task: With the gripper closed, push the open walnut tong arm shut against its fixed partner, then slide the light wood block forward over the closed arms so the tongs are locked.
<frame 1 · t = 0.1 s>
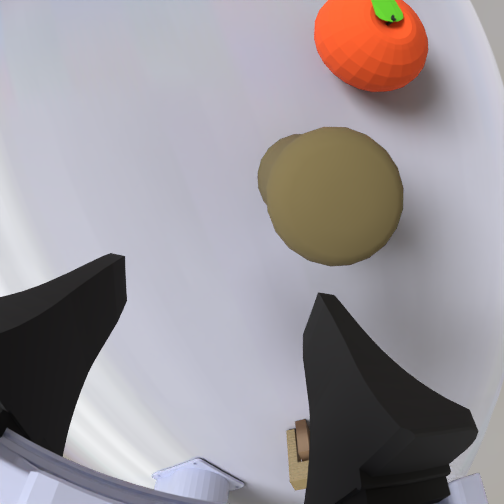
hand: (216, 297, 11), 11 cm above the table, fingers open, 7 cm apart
light wood block: (314, 454, 24), point 3 cm above the table, slide at 0.0 cm
cork: (302, 178, 20), on the table
clementine: (352, 49, 17), on the table
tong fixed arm: (313, 440, 28), on the table
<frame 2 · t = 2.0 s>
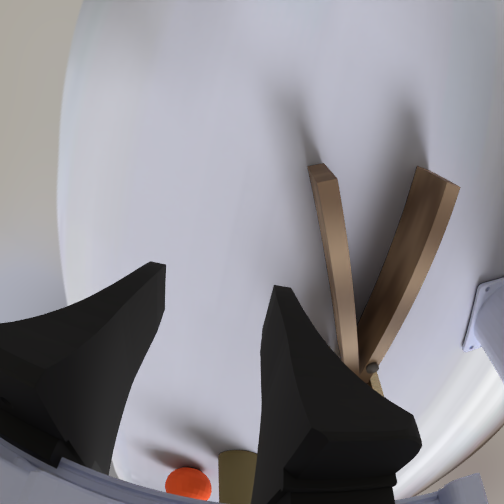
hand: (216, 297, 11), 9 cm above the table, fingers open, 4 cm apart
light wood block: (348, 384, 22), point 3 cm above the table, slide at 0.0 cm
cork: (240, 457, 35), on the table
clementine: (191, 469, 39), on the table
tong arm: (339, 282, 19), point 2 cm above the table, hinge at 25.0°
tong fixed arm: (352, 335, 24), on the table
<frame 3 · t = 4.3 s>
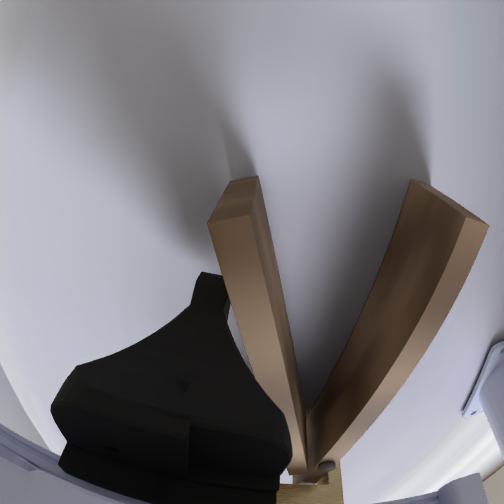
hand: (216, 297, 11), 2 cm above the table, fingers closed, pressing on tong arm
light wood block: (298, 473, 15), point 3 cm above the table, slide at 0.0 cm
tong arm: (279, 366, 12), point 2 cm above the table, hinge at 22.4°, touching gripper
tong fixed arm: (310, 411, 17), on the table
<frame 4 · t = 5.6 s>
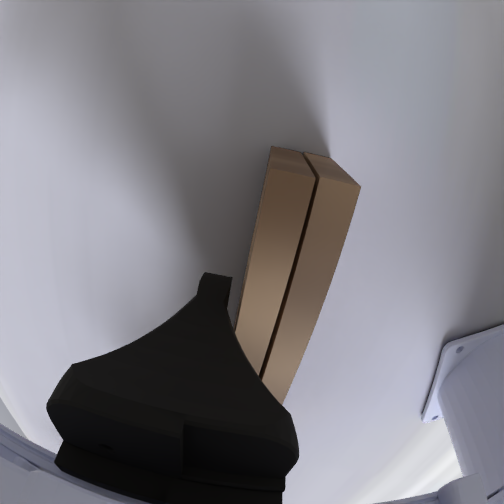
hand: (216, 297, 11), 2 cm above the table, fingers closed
tong arm: (244, 346, 11), point 2 cm above the table, hinge at -0.6°, touching gripper
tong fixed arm: (240, 403, 17), on the table
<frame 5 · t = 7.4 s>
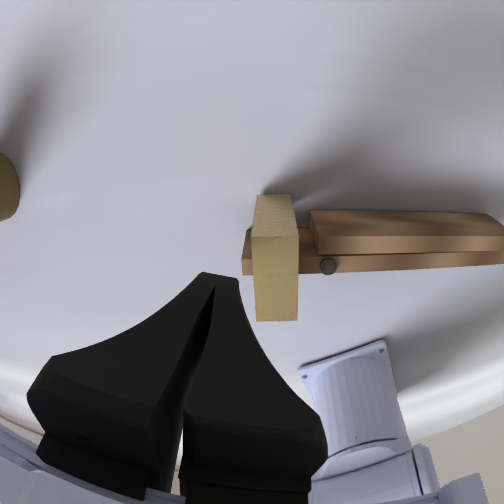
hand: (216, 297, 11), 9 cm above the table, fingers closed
light wood block: (275, 250, 17), point 3 cm above the table, slide at 0.0 cm
cork: (0, 186, 20), on the table
tong arm: (423, 230, 17), point 2 cm above the table, hinge at -0.7°
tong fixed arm: (309, 228, 20), on the table
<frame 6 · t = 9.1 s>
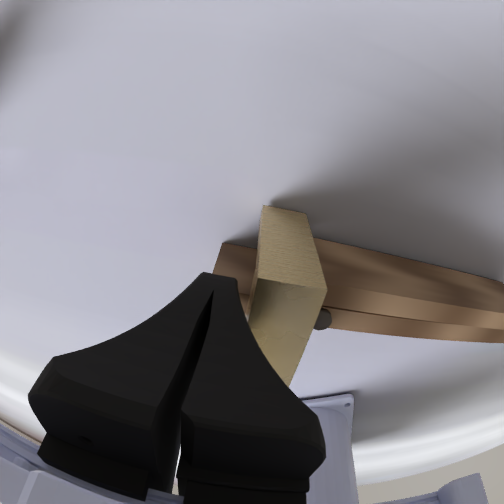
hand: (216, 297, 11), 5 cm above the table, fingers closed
light wood block: (274, 288, 12), point 3 cm above the table, slide at 0.8 cm, touching gripper
tong arm: (439, 291, 13), point 2 cm above the table, hinge at -0.7°
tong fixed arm: (301, 257, 16), on the table
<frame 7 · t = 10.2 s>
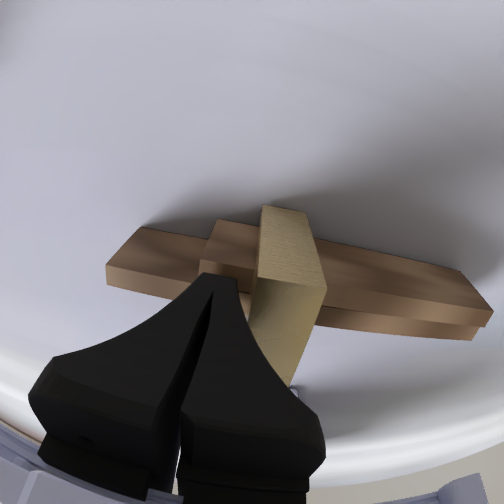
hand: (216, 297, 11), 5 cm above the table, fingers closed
light wood block: (275, 287, 12), point 3 cm above the table, slide at 5.2 cm, touching gripper
tong arm: (365, 277, 13), point 2 cm above the table, hinge at -0.7°
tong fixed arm: (214, 240, 15), on the table
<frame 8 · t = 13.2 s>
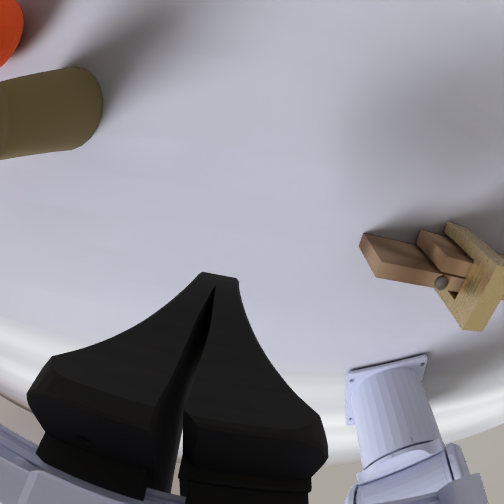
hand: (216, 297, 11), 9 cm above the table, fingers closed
light wood block: (466, 273, 17), point 3 cm above the table, slide at 5.2 cm
cork: (68, 108, 17), on the table
clementine: (9, 38, 14), on the table
tong arm: (496, 267, 18), point 2 cm above the table, hinge at -0.7°
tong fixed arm: (412, 244, 20), on the table
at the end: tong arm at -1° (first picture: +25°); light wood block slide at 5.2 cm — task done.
